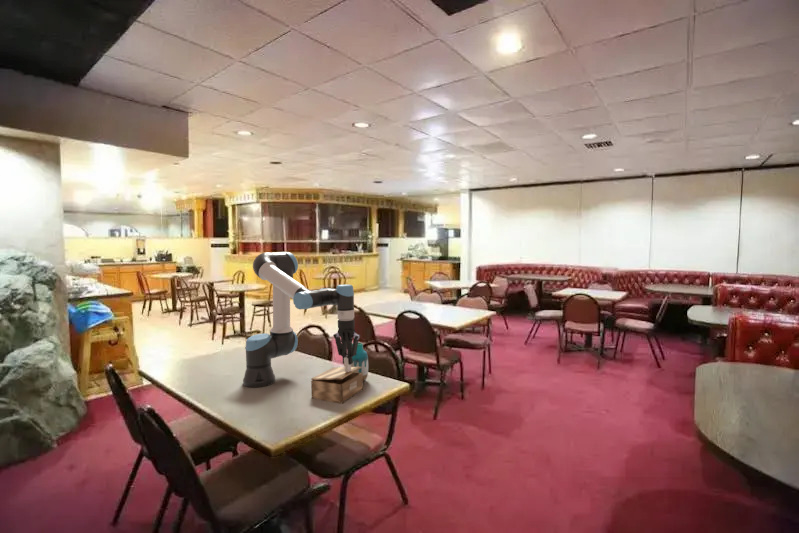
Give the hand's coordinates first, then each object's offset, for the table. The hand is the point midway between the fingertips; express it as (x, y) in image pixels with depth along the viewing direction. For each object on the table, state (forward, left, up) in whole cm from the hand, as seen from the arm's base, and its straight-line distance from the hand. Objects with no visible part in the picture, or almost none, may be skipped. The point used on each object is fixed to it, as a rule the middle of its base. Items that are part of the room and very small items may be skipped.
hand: (347, 371), depth 181 cm
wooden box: (-6, 0, -11) cm, 13 cm away
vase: (-6, +18, -12) cm, 22 cm away
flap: (-6, 0, -2) cm, 6 cm away
